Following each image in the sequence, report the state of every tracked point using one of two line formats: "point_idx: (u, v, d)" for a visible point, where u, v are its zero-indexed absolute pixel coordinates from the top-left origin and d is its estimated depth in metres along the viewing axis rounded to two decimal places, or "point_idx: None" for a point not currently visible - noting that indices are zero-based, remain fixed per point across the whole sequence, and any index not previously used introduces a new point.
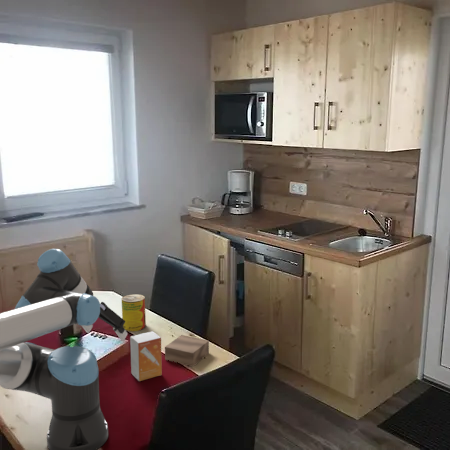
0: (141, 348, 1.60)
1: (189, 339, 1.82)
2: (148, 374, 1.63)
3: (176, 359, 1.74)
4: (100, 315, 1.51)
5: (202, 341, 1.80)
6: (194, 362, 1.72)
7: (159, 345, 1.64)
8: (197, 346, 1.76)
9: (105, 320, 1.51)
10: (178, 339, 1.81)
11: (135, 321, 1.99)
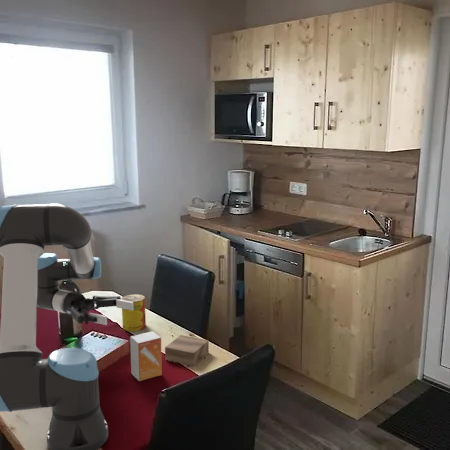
0: (141, 348, 1.60)
1: (188, 339, 1.82)
2: (148, 374, 1.63)
3: (177, 359, 1.74)
4: None
5: (202, 341, 1.80)
6: (195, 362, 1.73)
7: (159, 345, 1.64)
8: (197, 346, 1.76)
9: (105, 299, 1.76)
10: (178, 339, 1.81)
11: (135, 321, 1.99)
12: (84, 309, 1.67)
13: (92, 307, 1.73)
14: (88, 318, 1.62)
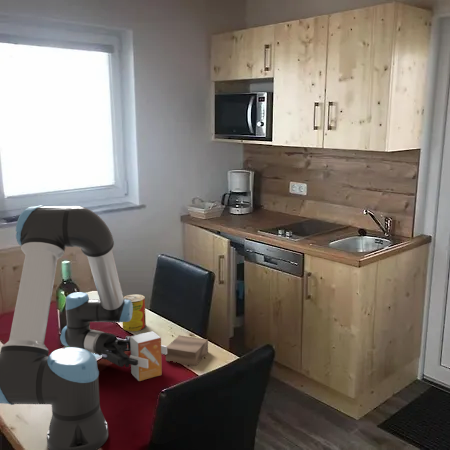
0: (141, 348, 1.60)
1: (188, 339, 1.82)
2: (148, 374, 1.63)
3: (178, 359, 1.74)
4: None
5: (201, 340, 1.80)
6: (196, 361, 1.73)
7: (159, 345, 1.64)
8: (198, 346, 1.76)
9: None
10: (177, 339, 1.81)
11: (135, 321, 1.99)
12: (121, 351, 1.64)
13: (125, 349, 1.70)
14: (129, 361, 1.60)
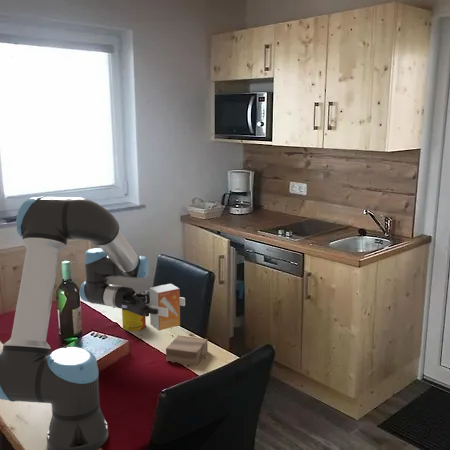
0: (161, 298, 1.65)
1: (187, 339, 1.82)
2: (167, 324, 1.68)
3: (178, 359, 1.74)
4: None
5: (201, 340, 1.81)
6: (197, 361, 1.73)
7: (178, 296, 1.68)
8: (198, 345, 1.76)
9: None
10: (176, 340, 1.81)
11: (135, 321, 1.99)
12: (141, 302, 1.69)
13: (144, 301, 1.74)
14: (149, 310, 1.64)
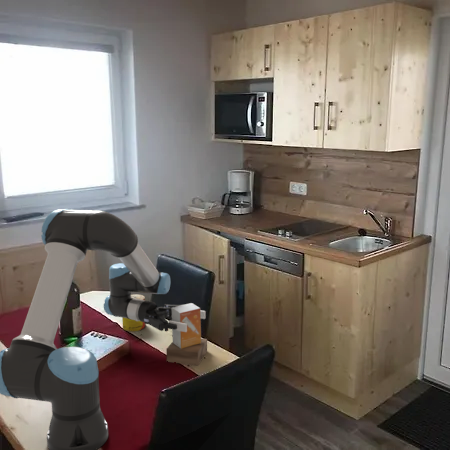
0: (183, 318, 1.72)
1: None
2: (189, 342, 1.75)
3: (179, 360, 1.74)
4: None
5: (201, 340, 1.81)
6: (198, 361, 1.73)
7: (198, 315, 1.76)
8: (198, 345, 1.77)
9: None
10: None
11: (135, 321, 1.99)
12: (162, 317, 1.75)
13: (166, 315, 1.81)
14: (168, 325, 1.70)
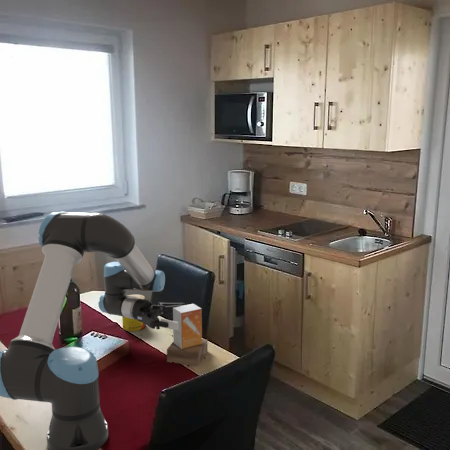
0: (184, 318, 1.72)
1: None
2: (190, 342, 1.75)
3: (180, 360, 1.74)
4: None
5: None
6: (199, 362, 1.73)
7: (200, 316, 1.75)
8: (199, 346, 1.77)
9: (171, 305, 1.86)
10: None
11: (135, 321, 1.99)
12: (154, 315, 1.76)
13: (160, 313, 1.82)
14: (160, 324, 1.72)
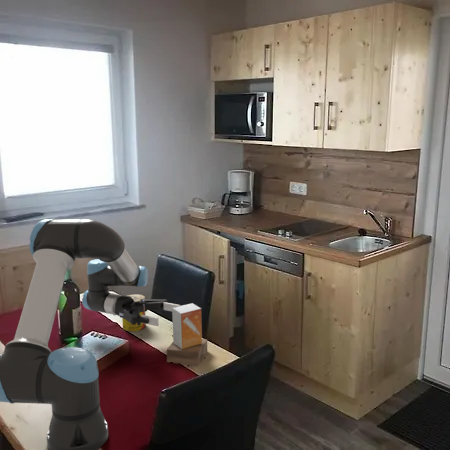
0: (184, 318, 1.72)
1: None
2: (190, 342, 1.75)
3: (180, 360, 1.74)
4: None
5: None
6: (198, 362, 1.73)
7: (199, 315, 1.75)
8: (199, 346, 1.76)
9: (153, 302, 1.89)
10: None
11: None
12: (136, 311, 1.80)
13: (141, 309, 1.86)
14: (141, 320, 1.75)
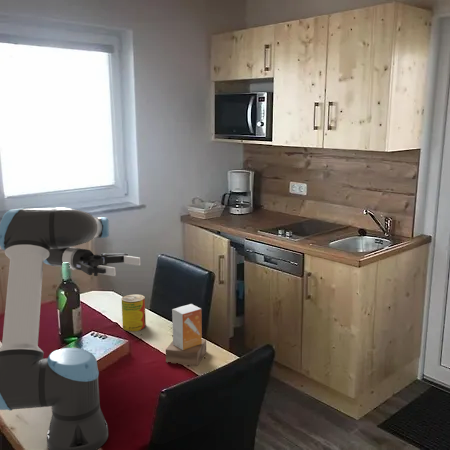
0: (185, 319, 1.71)
1: None
2: (191, 343, 1.75)
3: (179, 360, 1.73)
4: None
5: None
6: (197, 362, 1.73)
7: (200, 316, 1.75)
8: (198, 346, 1.76)
9: (113, 255, 1.83)
10: None
11: (135, 321, 1.99)
12: (93, 263, 1.73)
13: (101, 262, 1.79)
14: (97, 270, 1.69)
